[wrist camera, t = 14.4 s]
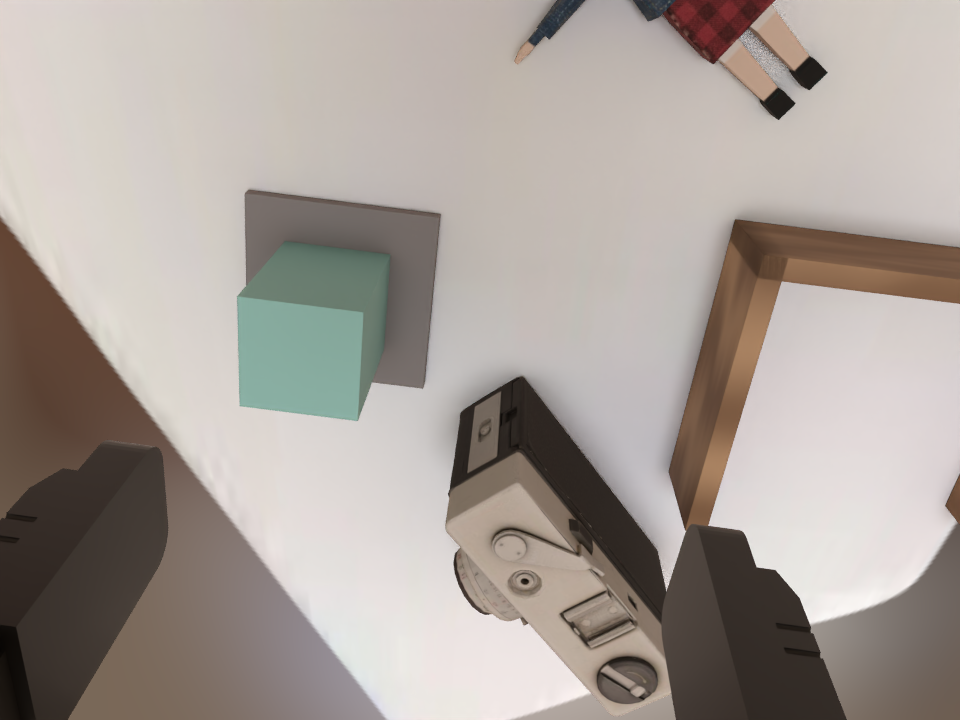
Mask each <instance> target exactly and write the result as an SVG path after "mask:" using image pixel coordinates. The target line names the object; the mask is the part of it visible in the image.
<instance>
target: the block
mask: <svg viewBox="0 0 960 720" xmlns="http://www.w3.org/2000/svg"><path fill="white" fill-rule="evenodd" d="M390 255H391V254H383V253H375V252H367V251H359V250H352V249H344V248H336V247H328V246H320V245H312V244H304V243H296V242H289V241H285V242H284V243H283V244H282V245H281V246H280V248H279V249H278V250H277V251H276V252H275V253H274V255H273V256H272V257H271V258H270V259H269V260H268V261H267V263H266V264H265V265H264V266H263V267H262V268H261V270H260V271H259V272H258V273H257V274H256V275H255V277H254V278H253V279H252V280H251V281H250V282H249V283H248V285H247V286H246V287H245V288H244V289H243V290H242V292H241V293H240V294H239V295H238V296H237V306H238V351H239V396H240V406H243V407H251V408H259V409H267V410H275V411H283V412H291V413H299V414H307V415H314V416H322V417H330V418H338V419H346V420H354V421H358V419H359V416H360V413H361V411H362V408H363V405H364V402H365V400H366V397H367V394H368V392H369V389H370V386H371V383H372V381H373V378H374V375H375V373H376V370H377V367H378V364H379V362H380V359H381V356H382V353H383V351H384V343H385V328H386V313H387V299H388V284H389V269H390Z"/></svg>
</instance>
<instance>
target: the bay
mask: <svg viewBox="0 0 960 720" xmlns="http://www.w3.org/2000/svg"><path fill="white" fill-rule="evenodd" d="M782 281H784V282H792V283H800V284H808V285H816V286H823V287H831V288H839V289H847V290H855V291H863V292H871V293H879V294H887V295H895V296H903V297H911V298H919V299H927V300H934V301H942V302H950V303H958V304H960V248H957V247H949V246H941V245H933V244H925V243H917V242H910V241H902V240H894V239H886V238H878V237H870V236H862V235H854V234H846V233H838V232H830V231H823V230H815V229H807V228H799V227H791V226H783V225H775V224H767V223H759V222H751V221H743V220H735V222H734V226H733V230H732V234H731V237H730V241H729V245H728V249H727V253H726V256H725V260H724V264H723V268H722V271H721V275H720V279H719V283H718V287H717V290H716V294H715V298H714V302H713V306H712V309H711V313H710V317H709V321H708V325H707V328H706V332H705V336H704V340H703V343H702V347H701V351H700V355H699V359H698V362H697V366H696V370H695V374H694V378H693V381H692V385H691V389H690V393H689V397H688V400H687V404H686V408H685V412H684V415H683V419H682V423H681V427H680V431H679V434H678V438H677V442H676V446H675V450H674V453H673V457H672V461H671V465H670V469H669V474H670V478H671V481H672V485H673V488H674V492H675V496H676V499H677V503H678V506H679V510H680V514H681V517H682V521H683V524H684V528H685V530H686V531H687V529H688V527H689V526H690V525H691V524H698V525H705V526H708V524H709V521H710V517H711V514H712V511H713V507H714V504H715V501H716V497H717V494H718V491H719V487H720V484H721V481H722V477H723V474H724V471H725V467H726V464H727V461H728V457H729V454H730V451H731V448H732V444H733V441H734V438H735V434H736V431H737V428H738V424H739V421H740V418H741V414H742V411H743V408H744V404H745V401H746V398H747V394H748V391H749V388H750V384H751V381H752V378H753V374H754V371H755V368H756V365H757V361H758V358H759V355H760V351H761V348H762V345H763V341H764V338H765V335H766V331H767V328H768V325H769V321H770V318H771V315H772V311H773V308H774V305H775V301H776V298H777V295H778V291H779V288H780V285H781V282H782ZM946 507H947V509H948V510H949V511H950V513H951V514H952V515H953V516H954V518H955V519H956V520H957V522H958V523H959V524H960V475H959V478H958V480H957V482H956V484H955V486H954V488H953V491H952V493H951V495H950V497H949V499H948V501H947V504H946Z"/></svg>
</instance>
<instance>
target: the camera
mask: <svg viewBox="0 0 960 720" xmlns="http://www.w3.org/2000/svg"><path fill="white" fill-rule="evenodd" d="M518 379H519V378H516V379H514V380H512V381H510V382H509V383H507V384H505V385H503V386H502V387H500V388H498V389H497V390H495V391H494V392H492V393H490V394H489V395H487V396H485V397H484V398H482V399H480V400H479V401H477V402H476V403H474V404H473V405H471V406H469V407H468V408H466V409H465V410H463V411H462V412H461V414H460V424H459V430H458V438H457V444H456V451H455V458H454V465H453V471H452V477H451V484H450V490H449V493H448V495H449V497H450V498H449V504H448V511H447V518H446V525H445V528H446V531H447V533H448V534H449V535H450V536H451V537H452V538H453V539H454V541H455V542H456V543H457V544H458V545H459V546H460V549H459V550H458V551H457V552H456V553H455V557H454V570H455V575H456V578H457V581H458V584H459V587H460V589H461V591H462V592H463V594H464V596H465V598H466V599H467V600H468V602H469V603H470V604H471V606H472V607H473V608H475V609H476V610H477V611H478V612H480V613H482V614H484V615H489V614H493V615H495V616H496V617H497V618H499V619H501V620H504V621H512V620H515V619H518V618H521V621H522V623H523V625H526V624H528V623H529V624H530V625H531V627H532V628H533V629H534V630H535V631H536V632H537V633H538V634H539V635H540V637H541V638H542V639H543V640H544V641H545V642H546V643H547V644H548V645H549V647H550V648H551V649H552V650H553V651H554V652H555V653H556V654H557V656H558V657H559V658H560V659H561V660H562V661H563V662H564V663H565V664H566V666H567V667H568V668H569V669H570V670H571V671H572V672H573V673H574V674H575V676H576V677H577V678H578V679H579V680H580V681H581V682H582V683H583V685H584V686H585V687H586V688H587V689H588V690H589V691H590V692H591V693H592V695H593V696H594V697H595V698H596V699H597V700H598V701H599V702H600V703H601V705H602V706H603V707H604V708H605V709H606V710H607V711H608V712H609V714H610V715H612V716H621V715H624V714H626V713H628V712H631V711H633V710H635V709H637V708H640V707H642V706H645V705H647V704H649V703H652V702H654V701H656V700H659V699H661V698H663V697H666V696H668V695H670V694H671V688H670V682H669V676H668V671H667V665H666V659H665V653H664V648H663V642H662V629H661V624H662V610H663V604H664V599H665V596H666V588H665V583H664V578H663V574H662V569H661V565H660V560H659V556H658V551H657V550H656V549H655V547H654V546H653V545H652V544H651V542H650V541H649V540H648V538H647V537H646V536H645V534H644V533H643V532H642V531H641V529H640V528H639V527H638V525H637V524H636V523H635V521H634V520H633V519H632V518H631V516H630V515H629V514H628V512H627V511H626V510H625V508H624V507H623V506H622V505H621V503H620V502H619V501H618V499H617V498H616V497H615V496H614V494H613V493H612V492H611V490H610V489H609V488H608V486H607V485H606V484H605V483H604V481H603V480H602V479H601V477H600V476H599V475H598V473H597V472H596V471H595V470H594V468H593V467H592V466H591V464H590V463H589V462H588V460H587V459H586V458H585V457H584V455H583V454H582V453H581V451H580V450H579V449H578V448H577V446H576V445H575V444H574V442H573V441H572V440H571V438H570V437H569V436H568V435H567V433H566V432H565V431H564V429H563V428H562V427H561V425H560V424H559V423H558V422H557V420H556V419H555V418H554V416H553V415H552V414H551V412H550V411H549V410H548V409H547V407H546V406H545V405H544V403H543V402H542V401H541V399H540V398H539V397H538V396H537V394H536V393H535V392H534V390H533V389H532V388H531V387H530V385H529V384H528V383H527V381H526V380H525V379H524V378H520V379H519V380H518Z"/></svg>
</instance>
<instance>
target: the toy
mask: <svg viewBox="0 0 960 720" xmlns="http://www.w3.org/2000/svg"><path fill="white" fill-rule="evenodd" d="M584 1H585V0H557V1H556V2H555V4H554V5H553V6H552V8H551V9H550V11H549V12H548V13H547V15H546V16H545V17H544V19H543V20H542V21H541V23H540V24H539V25H538V27H537V28H538V29H537V30H536V31H535V32H534V33H533V35H532V36H531V37H530V38H529V40H528V41H527V42H526V43H525V44H524V45H523V46H522V47H521V49H520V50H519V52H518V54H517V56H516V59H515V63H516V64H519V63H520V61H521V60H522V59H523V58H524V57H525V56H527V55H528V54H529V53H530V52H531V51H532V50H533V48H534V47H535V46H536V45H537V44H538V43H539V42H540V41H541V39H542V38H543V37H544V36H546V37H547V38H548V39H550V38H551V37H552V36H553V35H554V34H555V33H556V32H557V31H558V30H559V29H560V27H561V26H562V25H563V24H564V23H565V22H566V21H567V20H568V19H569V18H570V16H571V15H572V14H573V13H574V12H575V11H576V10H577V9H578V8H579V7H580V6H581V4H582V3H583V2H584ZM774 1H775V0H634V2H635V3H636V5H637V6H638V7H639V9H640V10H641V12H642V13H643V15H644V16H645V18H646V19H647V21H651V20H654V19H656V18H658V17H660V16H661V15H662V14H663V15H664V16H665V18H666V19H667V20H668V22H669V23H670V24H671V25H672V26H673V27H674V28H675V29H676V30H677V31H678V32H679V33H680V34H681V36H682V37H683V38H684V39H685V40H686V41H687V42H688V43H689V44H690V45H691V46H692V47H693V48H694V49H695V50H696V51H697V52H698V53H699V54H700V55H701V56H702V57H703V58H704V59H706V60H707V61H709V62H710V63H712V64H714V63H715V62H716V61H717V60H718V61H719V62H720V63H721V64H722V65H724V66H725V67H726V68H727V69H728V70H729V71H730V72H731V73H732V74H733V75H734V76H735V77H736V78H737V79H739V80H740V81H741V82H742V83H743V84H744V85H745V86H746V87H747V88H748V89H749V90H751V91H752V92H753V93H754V94H755V95H756V96H757V97H758V98H759V99H760V102H761V103H762V105H763V106H764V107H765V108H766V109H767V111H768V112H769V113H770V114H771V115H772V116H774V117H775V118H777V119H778V120H779V119H780V118H781V117H782V116H783V115H784V114H785V113H786V112H787V111H788V110H790V109H791V108H792V107H793V106H794V105H795V104H796V103H795V102H794V101H793V100H792V99H791V98H790V97H789V96H788V95H787V94H786V93H785V92H784V91H782V90H781V89H779V88H778V87H777V86H776V85H775V83H774V82H773V81H772V80H771V78H770V77H769V76H768V75H767V73H766V72H765V71H764V70H763V69H762V67H761V66H760V65H759V64H758V63H757V61H756V60H755V59H754V58H753V57H752V55H751V54H750V53H749V52H748V51H747V49H746V48H745V47H744V46H743V44H742V43H741V41H740V40H739V37H740V36H741V35H742V34H743V33H744V32H745V31H746V30H747V29H748V28H749V29H750V30H751V31H752V32H753V33H754V34H755V35H756V36H757V37H758V38H759V39H760V40H761V41H762V42H763V43H764V44H765V45H766V46H767V47H768V48H769V49H770V50H771V51H772V52H773V53H774V54H775V55H776V56H777V57H778V58H779V59H780V60H781V61H782V62H783V63H784V64H785V65H786V66H787V67H788V68H789V69H790V72H791V74H792V76H793V77H794V78H795V79H796V80H797V81H798V83H799V84H800V85H801V86H803V87H804V88H806V89H808V90H810V89H811V88H812V87H813V86H814V85H815V84H816V83H817V82H818V81H820V80H821V79H822V78H823V77H824V76H825V75H826V74H827V73H828V72H827V71H826V70H825V69H824V68H823V67H822V66H821V65H820V64H819V63H818V62H817V61H816V60H815V59H814V58H812V57H810V56H809V55H808V54H807V52H806V51H805V49H804V48H803V47H802V45H801V44H800V43H799V41H798V40H797V39H796V37H795V36H794V35H793V33H792V32H791V31H790V29H789V28H788V27H787V25H786V24H785V23H784V21H783V20H782V19H781V17H780V16H779V15H778V13H777V12H776V10H775V9H774V7H773V6H772V3H773V2H774Z"/></svg>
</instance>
